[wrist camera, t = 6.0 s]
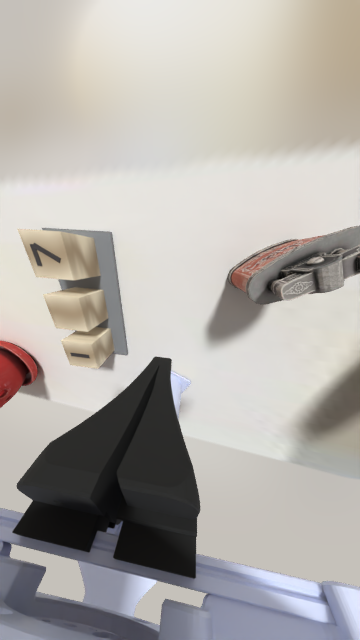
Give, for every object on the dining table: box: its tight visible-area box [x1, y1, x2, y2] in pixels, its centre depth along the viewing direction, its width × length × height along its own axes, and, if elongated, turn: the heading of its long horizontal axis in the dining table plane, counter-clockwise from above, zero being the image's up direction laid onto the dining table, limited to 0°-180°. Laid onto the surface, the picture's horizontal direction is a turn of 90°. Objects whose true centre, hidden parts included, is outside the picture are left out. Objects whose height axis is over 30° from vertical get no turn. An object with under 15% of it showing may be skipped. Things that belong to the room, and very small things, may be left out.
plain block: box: [43, 287, 109, 332], centre depth 18 cm, size 4×4×4 cm
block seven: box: [18, 229, 101, 280], centre depth 16 cm, size 4×4×5 cm
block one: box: [61, 327, 114, 369], centre depth 21 cm, size 4×4×5 cm
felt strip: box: [42, 228, 128, 355], centre depth 21 cm, size 19×9×1 cm, turn 176°
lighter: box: [228, 226, 360, 304], centre depth 12 cm, size 8×3×10 cm, turn 118°
